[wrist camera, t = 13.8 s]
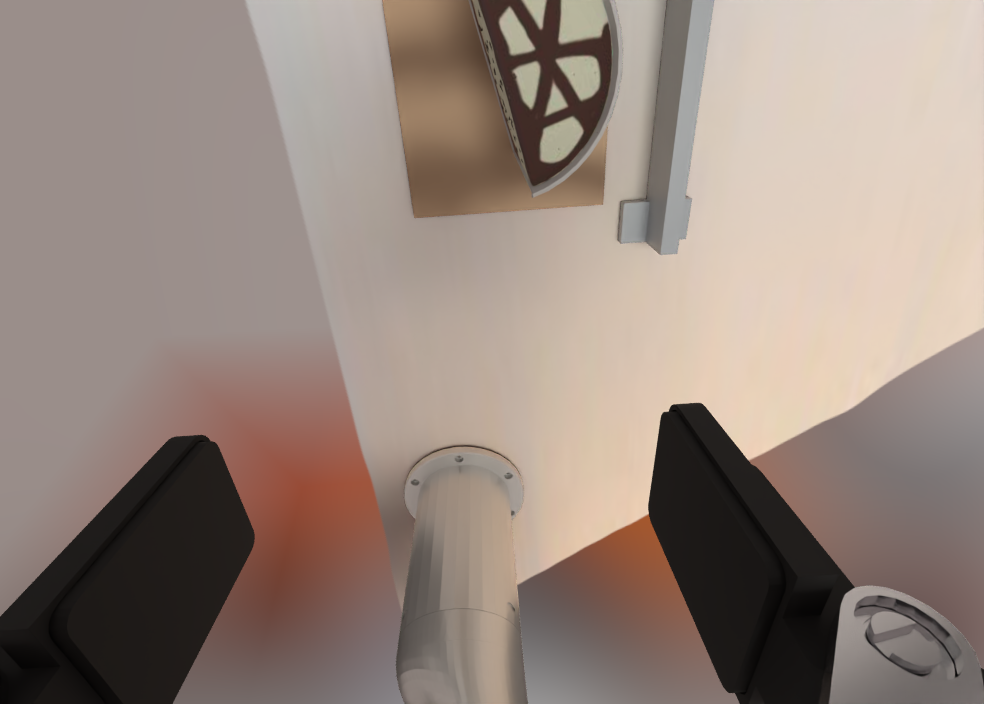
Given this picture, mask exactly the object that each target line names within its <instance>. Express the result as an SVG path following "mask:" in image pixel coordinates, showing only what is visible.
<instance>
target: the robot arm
mask: <svg viewBox="0 0 984 704" xmlns="http://www.w3.org/2000/svg"><path fill="white" fill-rule="evenodd" d="M523 499H524V488H523V482H522V479H521V476H520V474H519V472H518V471H517V469H516V468H515V467H514V466H513V465H512V464H511V463H510V462H509V461H508V460H507V459H505V458H504V457H502V456H501V455H498V454H496V453H494V452H492V451H489V450H485V449H481V448H475V447H453V448H448V449H443V450H440V451H437V452H434V453H432V454H430V455H428V456H427V457H425V458H423V459H422V460H421V461H420V462H418V463H417V464H416V465H415V466H414V467H413V469H412V470H411V471H410V473H409V475H408V477H407V479H406V484H405V488H404V500H405V505H406V507H407V509H408V511H409V513H410V514H411V515H412V517H413V518H414V519H415V525H414V533H413V540H412V547H411V554H410V561H409V568H408V576H407V583H406V590H405V597H404V604H403V612H402V620H401V626H400V633H399V641H398V649H397V656H396V673H397V675H396V676H397V681H398V686H399V690H400V693H401V696H402V698H403V701H404V703H405V704H528V700H527V690H526V681H525V672H524V662H523V661H524V660H523V649H522V638H521V626H520V614H519V601H518V590H517V578H516V566H515V555H514V543H513V531H512V519H513V518H514V517H515V516H516V515H517V513H518V512H519V510H520V509H521V506H522V504H523ZM648 510H649V517H650V521H651V523H652V526H653V528H654V530H655V532H656V535H657V537H658V539H659V542H660V544H661V546H662V548H663V551H664V553H665V556H666V558H667V560H668V562H669V565H670V567H671V569H672V571H673V574H674V576H675V578H676V581H677V583H678V585H679V587H680V590H681V592H682V594H683V597H684V599H685V601H686V604H687V606H688V608H689V611H690V613H691V615H692V617H693V619H694V622H695V624H696V627H697V629H698V631H699V633H700V635H701V638H702V640H703V642H704V645H705V647H706V650H707V652H708V654H709V656H710V659H711V661H712V663H713V665H714V668H715V670H716V672H717V675H718V677H719V679H720V681H721V683H722V685H723V687H724V688H725V690H726V691H727V692H728V693H735V694H736V696H737V698H738V700H739V703H740V704H984V669H982V668H981V667H980V665H979V662H978V659H977V656H976V653H975V651H974V650H973V648H972V647H971V646H970V644H969V643H968V641H967V640H966V639H965V637H964V636H963V635H962V634H961V633H960V632H959V631H958V630H957V629H956V628H955V627H954V626H953V625H952V624H951V623H950V622H949V621H948V620H947V619H946V618H944V617H943V616H942V615H940V614H939V613H937V612H936V611H935V610H933V609H932V608H930V607H929V606H927V605H926V604H924V603H922V602H920V601H918V600H916V599H914V598H912V597H911V596H908V595H907V594H904V593H901V592H898V591H895V590H892V589H889V588H885V587H877V586H862V587H856V588H855V587H854V586H853V585H852V583H851V582H850V581H849V580H848V578H847V577H846V576H845V575H844V573H843V572H842V571H841V570H840V569H839V567H838V566H837V565H836V564H835V562H834V561H833V560H832V559H831V557H830V556H829V555H828V554H827V552H826V551H825V550H824V549H823V547H822V546H821V545H820V544H819V543H818V541H817V540H816V539H815V538H814V536H813V535H812V534H811V533H810V531H809V530H808V529H807V528H806V527H805V525H804V524H803V523H802V522H801V520H800V519H799V518H798V517H797V515H796V514H795V513H794V512H793V510H792V509H791V508H790V507H789V505H788V504H787V503H786V502H785V501H784V499H783V498H782V497H781V496H780V494H779V493H778V492H777V491H776V489H775V488H774V487H773V486H772V484H771V483H770V482H769V481H768V480H767V479H766V477H765V476H764V475H763V473H762V472H761V471H760V470H759V469H758V468H757V467H755V466H753V465H751V464H750V462H749V461H748V460H747V458H746V457H745V456H744V455H743V453H742V452H741V451H740V450H739V448H738V447H737V446H736V445H735V443H734V442H733V441H732V440H731V438H730V437H729V436H728V435H727V433H726V432H725V431H724V430H723V428H722V427H721V426H720V425H719V423H718V422H717V421H716V420H715V418H714V417H713V416H712V415H711V413H710V412H709V411H708V410H707V408H706V407H705V406H704V405H703V404H701V403H689V404H674V405H672V406H671V407H670V409H669V412H664V413H663V414H662V415H661V420H660V427H659V434H658V441H657V448H656V455H655V462H654V469H653V476H652V483H651V490H650V497H649V504H648ZM254 539H255V538H254V530H253V528H252V526H251V523H250V521H249V518H248V516H247V513H246V511H245V509H244V506H243V504H242V502H241V499H240V497H239V494H238V492H237V490H236V487H235V485H234V483H233V480H232V478H231V476H230V473H229V471H228V468H227V466H226V464H225V461H224V459H223V456H222V454H221V452H220V449H219V447H218V445H217V444H216V443H215V442H212V441H210V440H209V438H208V437H206V436H204V435H194V436H180V437H173V438H171V439H169V440H168V441H167V442H166V443H165V444H164V445H163V446H162V447H161V448H160V449H159V450H158V451H157V453H155V454H154V456H153V457H152V458H151V459H150V460H149V461H148V462H147V463H146V464H145V465H144V466H143V467H142V468H141V469H140V470H139V471H138V472H137V474H135V476H134V477H133V478H132V479H131V480H130V481H129V482H128V483H127V484H126V485H125V486H124V487H123V488H122V489H121V490H120V491H119V492H118V493H117V495H116V496H115V497H114V498H113V499H112V500H111V501H110V502H109V503H108V504H107V505H106V506H105V507H104V508H103V509H102V510H101V511H100V512H99V513H98V515H96V517H95V518H94V519H93V520H92V521H91V522H90V523H89V524H88V525H87V526H86V527H85V528H84V529H83V530H82V531H81V532H80V533H79V535H77V536H76V538H75V539H74V540H73V541H72V542H71V543H70V544H69V545H68V546H67V547H66V548H65V549H64V550H63V551H62V552H61V554H59V555H58V556H57V558H56V559H55V560H54V561H53V562H52V563H51V564H50V565H49V566H48V567H47V568H46V569H45V570H44V571H43V572H42V573H41V574H40V575H39V577H37V579H36V580H35V581H34V582H33V583H32V584H31V585H30V586H29V587H28V588H27V589H26V590H25V591H24V592H23V593H22V594H21V595H20V596H19V597H18V599H17V600H16V601H15V602H14V603H13V604H12V605H11V606H10V607H9V608H8V609H7V610H6V611H5V612H4V613H3V614H2V615H1V616H0V704H173V701H174V700H175V697H176V696H177V694H178V692H179V690H180V688H181V686H182V684H183V682H184V680H185V678H186V676H187V674H188V673H189V671H190V669H191V667H192V665H193V663H194V661H195V659H196V657H197V655H198V653H199V651H200V649H201V647H202V645H203V643H204V642H205V639H206V637H207V636H208V634H209V632H210V630H211V628H212V626H213V624H214V622H215V620H216V618H217V616H218V614H219V612H220V611H221V609H222V606H223V605H224V603H225V601H226V599H227V597H228V595H229V593H230V591H231V589H232V587H233V585H234V583H235V581H236V580H237V578H238V576H239V574H240V572H241V570H242V568H243V566H244V564H245V562H246V560H247V558H248V556H249V554H250V552H251V550H252V548H253V544H254Z"/></svg>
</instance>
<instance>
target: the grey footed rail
mask: <svg viewBox="0 0 984 704" xmlns="http://www.w3.org/2000/svg"><path fill="white" fill-rule="evenodd" d="M713 5H714V0H667V6H666V15H665V25H664V35H663V44H662V54H661V63H660V73H659V83H658V92H657V102H656V111H655V121H654V131H653V140H652V150H651V159H650V169H649V179H648V188H647V198H646V199H645V200H631V201H621V208H620V221H619V234H618V241H619V242H620V243H621V244H623V243H637V242H646V243H647V244H648V245H650V246H651V247H652V248H653V249H654V250H655V251H656V252H658V253H659V254H660V255H666V254H677V252H678V245H679V239H686V235H687V228H688V221H689V215H690V208H691V202H692V198H690V197H688V196H687V197H686V190H687V183H688V176H689V169H690V163H691V156H692V149H693V142H694V135H695V128H696V121H697V115H698V108H699V101H700V94H701V87H702V80H703V73H704V67H705V60H706V53H707V46H708V39H709V32H710V25H711V19H712V12H713Z"/></svg>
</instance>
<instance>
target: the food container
mask: <svg viewBox="0 0 984 704" xmlns="http://www.w3.org/2000/svg"><path fill="white" fill-rule="evenodd" d="M468 1H469V4H470V7H471V11H472V14H473V18H474V21H475V24H476V28H477V31H478V35H479V38H480V41H481V45H482V48H483V52H484V55H485V58H486V62H487V65H488V69H489V72H490V75H491V79H492V82H493V86H494V89H495V92H496V96H497V99H498V102H499V106H500V109H501V113H502V116H503V119H504V123H505V126H506V130H507V133H508V136H509V140H510V143H511V147H512V150H513V153H514V155H515V158H516V160H517V162H518V164H519V166H520V168H521V171H522V173H523V175H524V177H525V179H526V181H527V183H528V186H529V188H530V190H531V192H532V194H531V196H532V198H534V197H536V196H538V195H540V194H543V193H545V192H547V191H549V190H551V189H552V188H554V187H555V186H557V185H558V184H560V183H562V182H563V181H564V180H566V179H567V178H568V177H569V176H570V175H571V174H572V173H574V172H575V171H576V170H577V169H578V168H579V167H580V166H581V165H582V163H583V162H584V161H585V160H586V159H587V158H588V157H589V155H590V154H591V153H592V151H593V150H594V148H595V147H596V145H597V144H598V142H599V140H600V139H601V137H602V136H603V134H604V131H605V129H606V127H607V125H608V123H609V121H610V119H611V116H612V113H613V110H614V107H615V104H616V101H617V98H618V93H619V88H620V82H621V76H622V64H623V43H622V32H621V24H620V19H619V15H618V11H617V7H616V2H615V0H468Z"/></svg>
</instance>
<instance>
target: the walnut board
mask: <svg viewBox="0 0 984 704" xmlns="http://www.w3.org/2000/svg"><path fill="white" fill-rule="evenodd" d="M382 1H383V8H384V15H385V22H386V28H387V35H388V42H389V49H390V56H391V62H392V69H393V76H394V83H395V90H396V96H397V103H398V110H399V117H400V124H401V130H402V137H403V144H404V151H405V158H406V164H407V171H408V178H409V185H410V192H411V198H412V205H413V212H414V218H421V217H435V216H449V215H463V214H477V213H491V212H505V211H519V210H532V209H546V208H560V207H574V206H588V205H602V204H603V197H604V180H605V163H606V146H607V128H608V125H607V127H606V129H605V131H604V134H603V136H602V137H601V139H600V140H599V142H598V144H597V145H596V147H595V148H594V150H593V151H592V153H591V154H590V155H589V157H588V158H587V159H586V160H585V161H584V162H583V163H582V165H581V166H580V167H579V168H578V169H577V170H576V171H575V172H574V173H572V174H571V175H570V176H569V177H568V178H567V179H566V180H564V181H563V182H562V183H560V184H558V185H557V186H555V187H554V188H552V189H551V190H549V191H547V192H545V193H543V194H540V195H538V196H536V197H534V198H532V196H531V194H532V192H531V190H530V188H529V186H528V183H527V181H526V179H525V177H524V175H523V173H522V171H521V168H520V166H519V164H518V162H517V160H516V158H515V155H514V153H513V150H512V147H511V143H510V140H509V136H508V133H507V130H506V126H505V123H504V119H503V116H502V113H501V109H500V106H499V102H498V99H497V96H496V92H495V89H494V86H493V82H492V79H491V75H490V72H489V69H488V65H487V62H486V58H485V55H484V52H483V48H482V45H481V41H480V38H479V35H478V31H477V28H476V24H475V21H474V18H473V14H472V11H471V7H470V4H469V1H468V0H382Z"/></svg>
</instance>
